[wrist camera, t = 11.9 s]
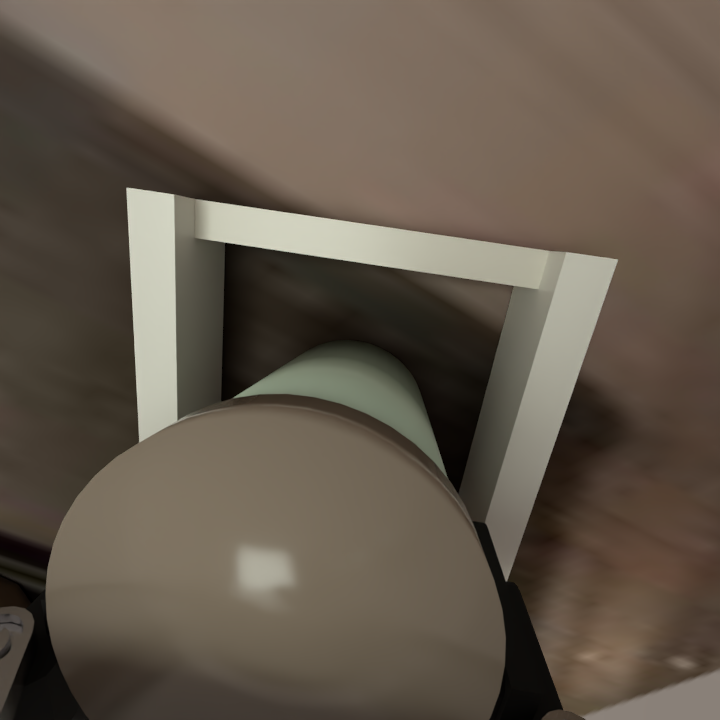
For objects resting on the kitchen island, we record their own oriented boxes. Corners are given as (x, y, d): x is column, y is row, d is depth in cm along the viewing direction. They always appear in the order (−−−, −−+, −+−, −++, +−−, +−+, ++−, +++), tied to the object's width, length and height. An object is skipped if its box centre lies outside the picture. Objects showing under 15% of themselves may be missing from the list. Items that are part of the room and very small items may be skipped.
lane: (562, 255, 12) (793, 273, 5) (437, 672, 17) (465, 937, 11) (189, 200, 12) (-64, 148, 5) (190, 626, 18) (71, 854, 11)
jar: (443, 351, 13) (561, 469, 4) (411, 503, 14) (450, 869, 5) (279, 322, 13) (48, 374, 4) (260, 473, 14) (42, 769, 5)
